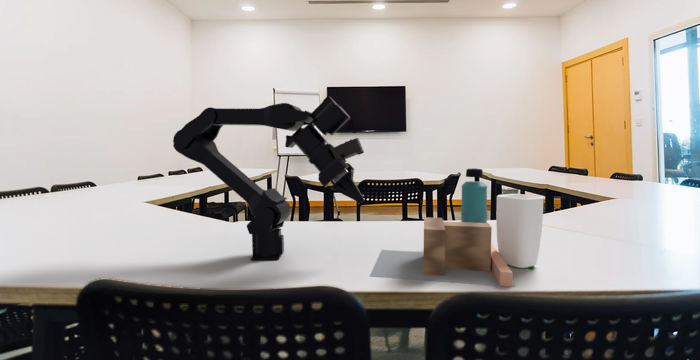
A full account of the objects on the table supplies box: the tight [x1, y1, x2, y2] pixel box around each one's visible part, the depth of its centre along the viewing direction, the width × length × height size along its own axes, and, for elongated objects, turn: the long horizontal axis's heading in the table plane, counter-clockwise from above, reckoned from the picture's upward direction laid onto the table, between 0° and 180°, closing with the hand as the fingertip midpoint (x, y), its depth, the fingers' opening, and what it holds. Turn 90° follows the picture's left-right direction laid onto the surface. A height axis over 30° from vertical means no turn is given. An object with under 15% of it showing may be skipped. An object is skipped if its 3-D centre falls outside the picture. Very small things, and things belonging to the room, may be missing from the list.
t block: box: [423, 216, 492, 276], centre depth 70 cm, size 13×12×9 cm
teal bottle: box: [460, 167, 489, 223], centre depth 87 cm, size 6×7×20 cm
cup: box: [495, 193, 544, 269], centre depth 71 cm, size 7×7×15 cm
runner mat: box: [369, 244, 516, 288], centre depth 71 cm, size 26×18×3 cm
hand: (362, 202), depth 74 cm, fingers closed
